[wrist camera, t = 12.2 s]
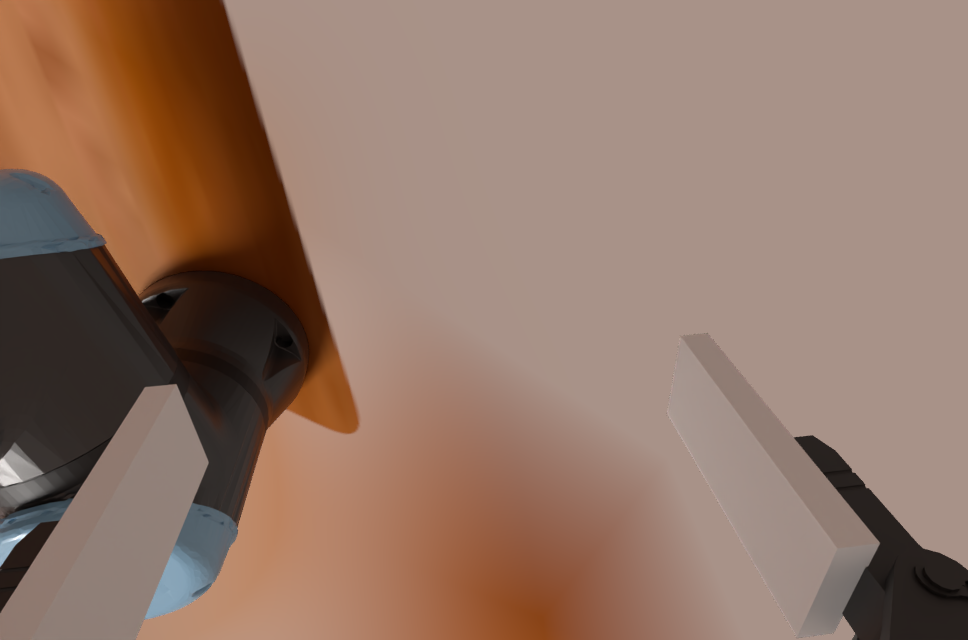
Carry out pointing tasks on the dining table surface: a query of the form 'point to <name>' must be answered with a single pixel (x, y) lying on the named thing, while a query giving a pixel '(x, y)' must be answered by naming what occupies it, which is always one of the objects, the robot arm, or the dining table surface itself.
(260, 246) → the dining table surface
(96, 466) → the robot arm
